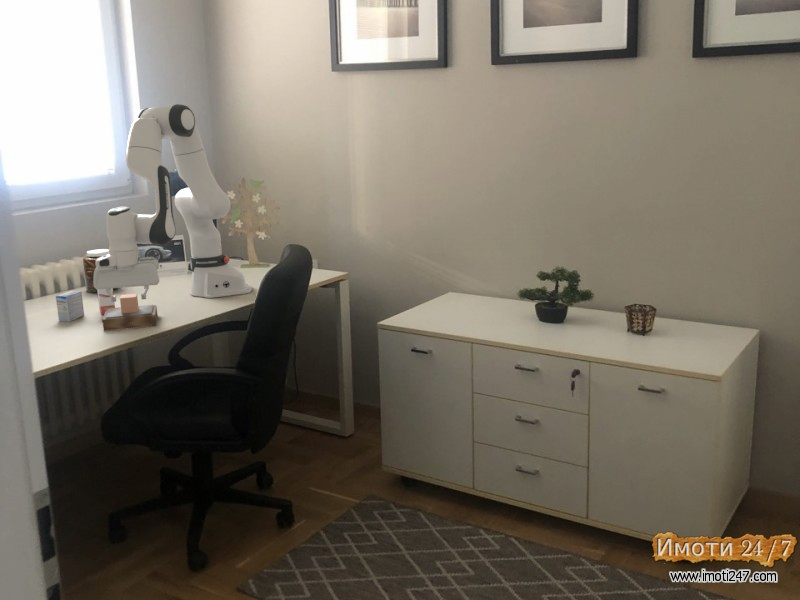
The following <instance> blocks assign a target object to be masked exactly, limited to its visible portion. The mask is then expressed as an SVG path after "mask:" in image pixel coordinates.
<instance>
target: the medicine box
mask: <svg viewBox="0 0 800 600" xmlns="http://www.w3.org/2000/svg"><path fill="white" fill-rule="evenodd" d="M55 300H56V301H55V302H56V308H57V317H58V322H66V323H67V322H72V321H74V320H77V319H79V318H82V317H83V316H85V311H84V303H83V302H84V301H83V300H84V299H83V292H82V291H79V290H70V291H66V292H64V293H61V294H59V295H55Z"/></svg>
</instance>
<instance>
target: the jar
mask: <svg viewBox="0 0 800 600" xmlns="http://www.w3.org/2000/svg"><path fill="white" fill-rule="evenodd" d="M107 254H109V248H108V249H107V248H100V249H98V248H97V249H92V250H87V251H86V256H84V257H83V258H82V265H83V276H84V282H85V291H86V293H94V294H95V293H97V294H98V292H97V289H96V288H95V287H94V271H95V269H96V264H95V262H96V260H97V259H98V258H99V257H101V256H104V255H107ZM118 289H119V288H113V291H116V290H118Z"/></svg>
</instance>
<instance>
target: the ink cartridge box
mask: <svg viewBox="0 0 800 600" xmlns="http://www.w3.org/2000/svg"><path fill="white" fill-rule="evenodd" d="M97 292H98V293H97V299H98V305H99V306H98V307H99V312H100V314H101V315H104V314H105V312H106V309H109V308H116V306H115V302H111V297H110V296H109V295H108V294H107V292H106V289H97ZM111 293H112V295H115V294H114V290H113V288H111Z"/></svg>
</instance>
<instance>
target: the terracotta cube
mask: <svg viewBox="0 0 800 600" xmlns="http://www.w3.org/2000/svg"><path fill="white" fill-rule="evenodd" d="M119 301H120V303H119V304H120V307H121V312H122V313H133V312H138V309H139V307H138V306H139V299H138V293H128V294H121V295H120V297H119Z"/></svg>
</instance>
